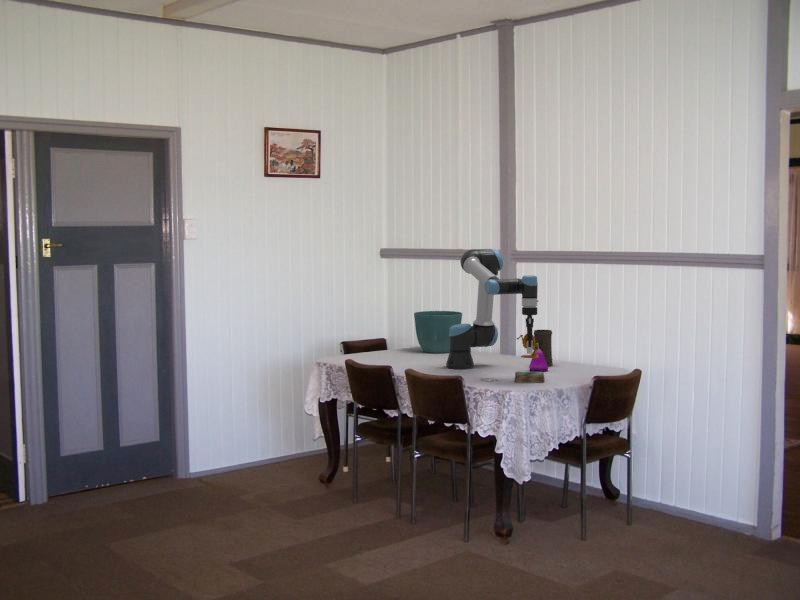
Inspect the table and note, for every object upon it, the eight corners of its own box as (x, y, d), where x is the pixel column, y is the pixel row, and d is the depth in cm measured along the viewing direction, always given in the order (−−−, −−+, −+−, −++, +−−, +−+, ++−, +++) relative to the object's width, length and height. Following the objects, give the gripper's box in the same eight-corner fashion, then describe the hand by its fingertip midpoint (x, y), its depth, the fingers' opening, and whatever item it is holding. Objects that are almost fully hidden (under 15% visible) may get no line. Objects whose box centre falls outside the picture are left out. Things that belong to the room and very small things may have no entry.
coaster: (479, 382, 442) (479, 380, 442) (480, 379, 450) (480, 377, 450) (497, 382, 440) (497, 380, 440) (498, 379, 449) (498, 378, 449)
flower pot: (464, 354, 544) (464, 314, 542) (415, 354, 544) (414, 315, 542) (460, 348, 574) (460, 310, 572) (413, 348, 573) (413, 311, 572)
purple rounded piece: (545, 369, 482) (545, 341, 481) (552, 372, 471) (552, 343, 470) (524, 369, 480) (525, 341, 479) (531, 372, 469) (531, 344, 468)
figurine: (516, 357, 445) (516, 333, 445) (530, 356, 452) (530, 332, 452) (528, 358, 439) (528, 334, 438) (543, 357, 446) (543, 333, 445)
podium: (515, 382, 439) (515, 375, 438) (515, 377, 453) (515, 371, 452) (544, 382, 437) (544, 375, 437) (543, 378, 451) (543, 371, 450)
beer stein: (552, 367, 488) (552, 330, 488) (532, 366, 490) (532, 330, 490) (553, 365, 503) (553, 329, 503) (533, 364, 505) (534, 329, 505)
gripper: (537, 308, 431) (537, 355, 432) (536, 305, 452) (536, 349, 454) (522, 308, 432) (522, 355, 433) (521, 305, 453) (521, 349, 455)
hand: (529, 352), depth 444 cm, fingers closed on figurine, 9 cm apart
